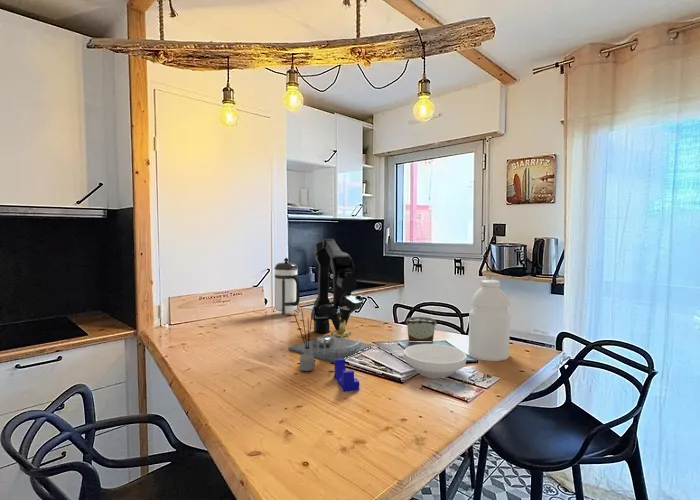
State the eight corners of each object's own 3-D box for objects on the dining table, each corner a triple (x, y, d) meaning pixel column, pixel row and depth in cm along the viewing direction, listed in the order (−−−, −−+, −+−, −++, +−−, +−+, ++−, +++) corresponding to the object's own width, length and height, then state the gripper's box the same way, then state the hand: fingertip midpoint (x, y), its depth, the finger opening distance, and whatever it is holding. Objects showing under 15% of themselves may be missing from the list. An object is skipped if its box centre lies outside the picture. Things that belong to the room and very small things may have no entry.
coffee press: (267, 315, 209) (267, 258, 208) (278, 309, 225) (277, 256, 224) (299, 316, 207) (299, 259, 205) (307, 310, 222) (307, 257, 221)
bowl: (429, 391, 112) (430, 367, 112) (391, 369, 130) (391, 348, 129) (480, 380, 121) (480, 357, 121) (438, 360, 139) (438, 340, 138)
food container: (434, 340, 164) (435, 316, 163) (436, 345, 158) (436, 320, 157) (404, 339, 165) (404, 316, 164) (405, 343, 159) (405, 319, 158)
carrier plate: (288, 349, 150) (288, 340, 150) (328, 337, 168) (328, 329, 168) (334, 363, 135) (334, 353, 135) (372, 347, 153) (373, 338, 153)
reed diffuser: (319, 373, 126) (320, 311, 125) (299, 377, 122) (299, 313, 121) (307, 363, 135) (307, 305, 133) (288, 367, 131) (287, 307, 130)
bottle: (461, 357, 142) (463, 280, 141) (478, 349, 152) (480, 277, 151) (499, 367, 133) (502, 284, 131) (515, 357, 143) (517, 280, 141)
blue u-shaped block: (359, 391, 112) (359, 371, 112) (343, 393, 111) (343, 372, 111) (348, 376, 124) (348, 357, 124) (334, 377, 123) (334, 358, 122)
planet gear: (326, 336, 148) (326, 320, 147) (339, 331, 154) (339, 316, 153) (341, 339, 143) (342, 323, 143) (354, 335, 149) (355, 319, 149)
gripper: (341, 293, 135) (340, 338, 136) (372, 287, 150) (372, 327, 151) (317, 290, 142) (317, 332, 143) (350, 284, 157) (349, 323, 158)
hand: (340, 329), depth 148 cm, fingers closed on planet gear, 4 cm apart
